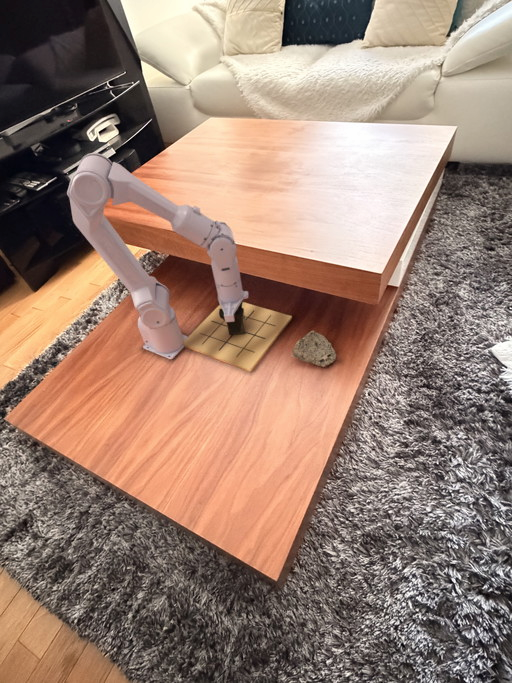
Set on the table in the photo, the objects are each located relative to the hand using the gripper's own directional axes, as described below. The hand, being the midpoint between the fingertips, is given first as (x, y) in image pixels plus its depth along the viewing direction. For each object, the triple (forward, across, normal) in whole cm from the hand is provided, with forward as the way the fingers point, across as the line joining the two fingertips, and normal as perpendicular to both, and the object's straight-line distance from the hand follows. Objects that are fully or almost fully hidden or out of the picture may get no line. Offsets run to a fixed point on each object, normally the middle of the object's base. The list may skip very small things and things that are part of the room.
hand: (236, 325), depth 95 cm
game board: (+2, 0, 0) cm, 2 cm away
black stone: (+1, 0, 0) cm, 1 cm away
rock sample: (+2, -10, -19) cm, 21 cm away
